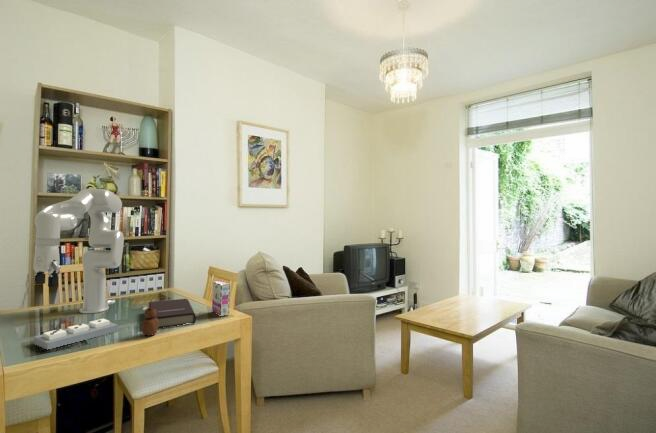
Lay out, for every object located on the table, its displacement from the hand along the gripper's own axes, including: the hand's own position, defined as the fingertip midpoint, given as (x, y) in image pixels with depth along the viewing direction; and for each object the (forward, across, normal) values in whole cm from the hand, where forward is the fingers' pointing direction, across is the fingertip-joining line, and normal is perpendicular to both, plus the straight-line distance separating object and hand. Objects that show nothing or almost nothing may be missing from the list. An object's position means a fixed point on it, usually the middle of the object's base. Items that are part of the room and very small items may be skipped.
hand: (46, 285), depth 135 cm
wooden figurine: (+22, +31, +24) cm, 45 cm away
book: (+22, +20, +44) cm, 53 cm away
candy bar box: (+22, +35, +61) cm, 74 cm away
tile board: (+22, +9, +8) cm, 25 cm away
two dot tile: (+20, +9, +8) cm, 24 cm away
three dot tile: (+21, +8, 0) cm, 22 cm away
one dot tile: (+20, +9, +16) cm, 27 cm away
